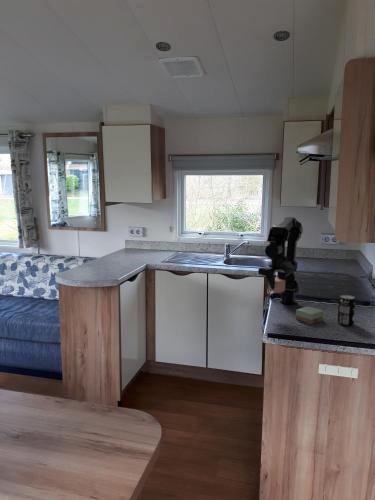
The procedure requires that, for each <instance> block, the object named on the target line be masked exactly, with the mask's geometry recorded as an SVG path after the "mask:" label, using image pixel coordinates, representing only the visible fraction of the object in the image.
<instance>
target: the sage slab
mask: <svg viewBox="0 0 375 500" xmlns="http://www.w3.org/2000/svg"><path fill="white" fill-rule="evenodd" d="M295 311H296V312H295V316H296V315H297V316H300V317H304V318H307V319H310V320H313V319H316V318H319V317H322V316H323V315H324V311H323V310H321V309H318V308H314V307H312V306H305V307H301V308H298V309H296V310H295ZM323 317H324V316H323Z"/></svg>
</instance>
